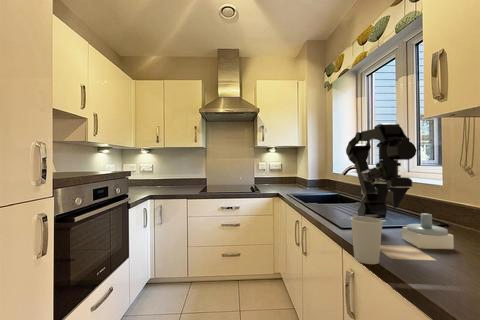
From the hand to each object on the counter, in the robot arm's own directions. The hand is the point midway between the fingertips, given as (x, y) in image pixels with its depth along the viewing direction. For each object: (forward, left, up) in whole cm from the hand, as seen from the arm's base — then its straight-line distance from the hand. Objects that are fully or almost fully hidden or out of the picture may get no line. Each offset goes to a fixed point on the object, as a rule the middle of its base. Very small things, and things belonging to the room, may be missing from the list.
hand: (388, 205), depth 89 cm
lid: (+2, +11, -8) cm, 14 cm away
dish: (+2, +11, -13) cm, 17 cm away
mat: (+11, -1, -13) cm, 17 cm away
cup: (+18, -14, -13) cm, 26 cm away
